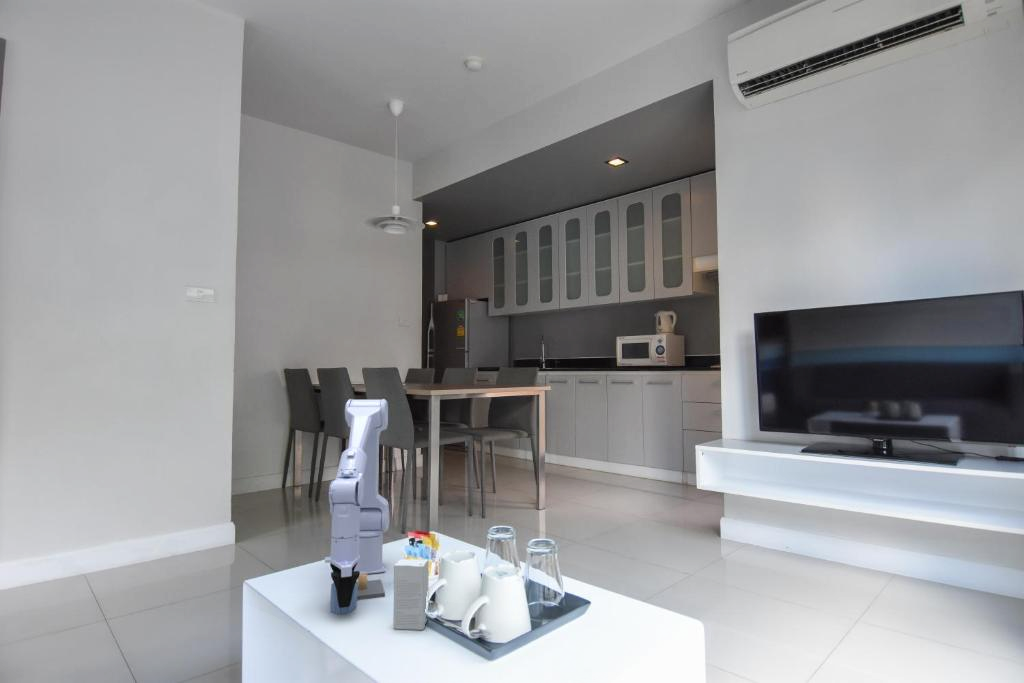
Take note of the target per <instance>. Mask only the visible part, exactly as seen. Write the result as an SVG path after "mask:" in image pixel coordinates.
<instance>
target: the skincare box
mask: <svg viewBox="0 0 1024 683" xmlns="http://www.w3.org/2000/svg"><path fill="white" fill-rule="evenodd" d="M429 566H430V564H429V559H415V558H413V559H410V558H409V559H408V558H407V559H406V558H400V559H399V560H398V561H397V562H396V563H395V564H394V565H393V625H392V626H393V627H392V628H393V630H417V631H423V630H424V629H425V628H426V626H425V618H426V613H425V609H426V596H427V591H428V592H429Z"/></svg>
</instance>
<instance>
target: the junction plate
mask: <svg viewBox="0 0 1024 683" xmlns="http://www.w3.org/2000/svg"><path fill="white" fill-rule="evenodd" d="M356 582H357V601H358V600H366V599H374V598H375V599H376V598H383V597H386V591H385V589H384V586H383V583H382V580H381V579H375V580H368V574H367V573H361V574H360V575H359V577H358V579H357V581H356Z"/></svg>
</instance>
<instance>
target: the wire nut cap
mask: <svg viewBox="0 0 1024 683" xmlns="http://www.w3.org/2000/svg"><path fill="white" fill-rule="evenodd" d="M357 582H358V581H356V583H355V586H354V590H353V594H352V599H351V603H350V606H349V607H343V608H339V605H338V599H337V591H336V587H335V584H334V582H332V583H331V585H330V608H329V610H331V611H330V613H332V614H341V615H343V614H348V613H351V612H353V611H355V610H356V609H357V608H358V606H357V604H358V602H357V601H358V600H357Z"/></svg>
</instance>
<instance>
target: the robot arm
mask: <svg viewBox="0 0 1024 683" xmlns="http://www.w3.org/2000/svg"><path fill="white" fill-rule="evenodd" d="M344 406H345V407H344V419H345V422H346V424H347V426H348V428H350V431H349V432H350V433H349V438H348V447H347V448H346V449H345V450H344V451H343V452H342V453H341V456H340V459H339V463H338V464H339V465H338V468H337V472H336V477H335V479H334V480H331V482H330V484H329V490H328V503H329V514H330V515H331V538H330V539H331V541H330V542H331V543H330V556H325V557H324V562H325V563H326V564H329V565H330V568H331V570H332V571H331V572H330V577H331V580H332V581H333V582H332V583H334V584H335V587H336V591H337V599H338V605H339V608H343V607H349V606H350V603H351V599H352V594H353V590H354V586H355V583H356V582H358V577H359V575H360V574H361V573H367V575H369V574H380V573H385V572H386V567H385V566H384V563H383V550H384V549H383V545H384V544H383V543H384V541H383V540H384V539H383V538H384V537H383V536H384V533H386V532H387V531H388V530H389V526H390V508H389V507H390V506H389V504H390V503H389V502H388V500H387V499H386V498H385V497H383V496H382V495H380V494H379V464H380V463H379V461H380V460H379V459H380V458H379V453H380V436H381V432H382V431H385V430H387V429H388V424H389V405H388V400H386V399H385V398H382V399H353V398H350V399H348V400H347V401H346V403H345V405H344Z"/></svg>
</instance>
